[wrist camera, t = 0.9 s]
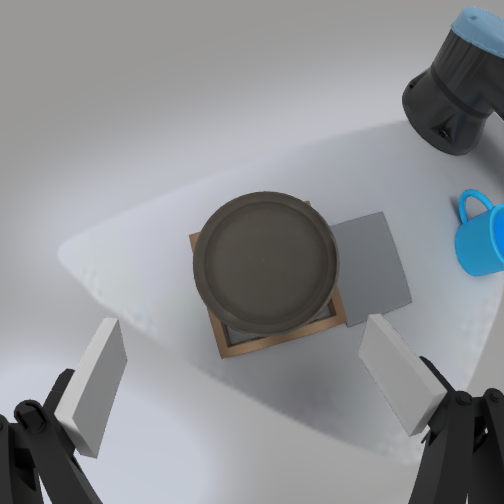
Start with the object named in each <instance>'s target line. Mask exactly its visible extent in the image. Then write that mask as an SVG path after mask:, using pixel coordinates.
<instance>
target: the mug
mask: <svg viewBox="0 0 504 504" xmlns="http://www.w3.org/2000/svg"><path fill="white" fill-rule="evenodd" d="M470 196H472V197H475V198H477V199H478V200H480V201H481V202H482V203H483V204H484V205H485V206H486V207H487V209H488V211H486V212H484V213H482V214H480V215H478V216H476V217H475V218H473V219H471V220H469V221H468V219H467V215H466V211H465V201H466V199H467V197H470ZM459 213H460V217H461V221H462V223H463V224H462V225H461V226H460V227H459V229H458V231H457V234H456V239H455V248H456V254H457V257H458V260H459V263H460V264H461V266H462V268H463V269H464V270H465V271H466V272H467V273H468V274H470V275H473V276H481V275H486V274H490V273H494V272H498V271H503V270H504V204H499V205H497V206H495V207H494V206H493V204H492V203H491V202H490V201H489V199H488V198H487V197H486V196H485V195H483V194H482V193H480V192H479V191H477V190H473V189H469V190H465V191H464V192H463V193H462V194H461V196H460V199H459Z"/></svg>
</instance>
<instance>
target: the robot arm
mask: <svg viewBox="0 0 504 504" xmlns="http://www.w3.org/2000/svg"><path fill="white" fill-rule="evenodd" d="M402 104H403V108H404V111H405V113H406V116H407V118H408V119H409V121H410V123H411V124H412V125H413V127H414V128H415V129H416V130H417V132H418V133H419V134H420V135H421V136H422V137H423V138H424V139H426V140H427V141H428V142H429V143H430V144H432V145H433V146H435V147H436V148H438V149H440V150H442V151H444V152H446V153H449V154H453V155H463V154H466V153H468V152H469V151H470V150H471V149H472V148H473V147H474V146H475V145H476V144H477V143H478V141H479V138H480V136H481V133H482V131H483V128H484V125H485V123H486V120H487V118H488V117H489V116H490V115H491V114H492V112H494V111H495V112H496V113H497V114H498V115H499V116H500V117H501V118H502V119H503V120H504V20H503V19H501V18H500V17H499V16H497V15H495V14H493V13H491V12H489V11H487V10H484V9H482V8H478V7H473V6H470V7H465V8H464V9H462V11H461V12H460V14H459V15H458V17H457V19H456V20H455V22H453V23H452V24H451V30H450V32H449V34H448V36H447V38H446V40H445V42H444V43H443V45H442V47H441V49H440V50H439V52H438V54H437V56H436V57H435V59H434V62H433V63H432V65H431V66H430V67H429V68H428V69H427V70H425V71H424V72H422V73H421V74H420V75H418V76H417V77H415V78H414V79H413V80H411V81H410V82H409V84H408V85H407V87H406V89H405V91H404V93H403V96H402ZM358 355H359V357H360V358H361V360H362V362H363V363H364V365H365V366H366V368H367V369H368V371H369V373H370V374H371V376H372V377H373V379H374V380H375V382H376V384H377V385H378V387H379V388H380V390H381V392H382V393H383V395H384V396H385V398H386V400H387V401H388V403H389V405H390V406H391V408H392V409H393V411H394V413H395V414H396V416H397V418H398V419H399V421H400V423H401V424H402V426H403V428H404V429H405V431H406V433H407V434H408V436H409V437H411V436H413V435H416V434H419V433H421V432H422V431H423V430H424V428H425V427H426V425H427V424H428V426H429V427H430V430H429V431H428V433H427V434H426V435H425V437H424V438H423V440H422V441H421V443H422V444H423V442H424V441H425V440H426V443H425V448H424V452H423V456H422V460H421V464H420V467H419V471H418V475H417V478H416V482H415V485H414V488H413V491H412V494H411V497H410V500H409V503H408V504H466V499H467V493H468V504H504V395H503V393H502V392H501V391H499V390H497V389H495V388H489V389H487V390H486V392H485V393H484V395H483V396H482V397H472V396H471V395H470V394H468V393H467V392H464V391H455V390H454V388H453V387H452V386H451V385H450V384H449V383H448V381H447V380H446V379H445V378H444V377H443V375H442V374H440V372H439V371H438V370H437V369H436V367H435V366H434V365H433V364H432V363H431V362H430V361H429V360H427V359H426V358H424V357H423V356H420V357H418V356H417V354H416V353H415V352H414V351H413V350H412V349H411V348H410V346H409V345H408V344H407V343H406V342H405V341H404V340H403V338H402V337H401V336H400V335H399V334H398V333H397V332H396V331H395V329H394V328H393V327H392V326H391V325H390V324H389V323H388V322H387V321H386V319H385V318H384V317H383V316H382V315H381V314H372V315H369V316H368V320H367V323H366V327H365V331H364V334H363V338H362V342H361V345H360V348H359V352H358ZM126 363H127V356H126V352H125V348H124V344H123V339H122V335H121V330H120V325H119V320H118V319H117V318H104V320H103V321H102V323H101V325H100V327H99V328H98V330H97V332H96V333H95V335H94V337H93V339H92V341H91V342H90V344H89V346H88V348H87V350H86V351H85V353H84V355H83V357H82V359H81V361H80V363H79V364H78V366H77V368H76V370H73V369H66V370H65V371H64V372H62V373H61V374H60V375H59V377H58V379H57V380H56V382H55V385H54V386H53V388H52V391H50V393H49V395H48V397H47V399H46V401H45V403H44V405H43V407H42V406H41V405H40V403H38V402H37V401H35V400H24V401H23V402H21V403H19V404H18V405H17V406H16V408H15V410H14V418H15V419H16V420H17V422H18V423H9V422H8V421H7V419H6V418H5V417H4V416H3V415H1V414H0V504H44V502H43V497H42V492H41V487H40V481H39V476H40V478H41V480H42V483H43V485H44V487H45V489H46V491H47V494H48V496H49V498H50V500H51V502H52V504H103V503H102V502H101V500H100V499H99V497H98V496H97V494H96V493H95V491H94V489H93V488H92V486H91V485H90V483H89V481H88V479H87V478H86V476H85V474H84V473H83V471H82V469H81V468H80V465H79V464H78V462H77V460H76V458H75V457H74V455H73V454H74V450H75V448H76V449H77V451H78V452H79V453H80V455H83V456H88V457H92V458H97V456H98V452H99V449H100V445H101V441H102V438H103V434H104V431H105V428H106V424H107V421H108V418H109V414H110V411H111V408H112V405H113V402H114V399H115V396H116V392H117V389H118V386H119V383H120V380H121V377H122V375H123V372H124V369H125V366H126ZM486 428H487V430H488V433H487V434H486V433H485V429H486ZM38 473H39V474H38Z"/></svg>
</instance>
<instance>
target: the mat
mask: <svg viewBox="0 0 504 504" xmlns="http://www.w3.org/2000/svg"><path fill="white" fill-rule="evenodd" d="M330 229H331V231H332V233H333V235H334V237H335V240H336V243H337V246H338V251H339V260H340V267H339V277H338V281H337V286H338V289H339V292H340V296H341V299H342V302H343V306H344V309H345V313H346V316H347V320H348V322H346V324H347V327H351V326H353V325H356V324H359V323H362V322H364V321H367V320H368V316H369V315H372V314H381V315H382V314H385V313H387V312H390V311H392V310H395V309H397V308H399V307H402V306H404V305H407V304H409V303H411V302H412V299H411V295H410V292H409V288H408V285H407V281H406V278H405V275H404V271H403V268H402V265H401V262H400V259H399V256H398V253H397V250H396V247H395V244H394V241H393V238H392V236H391V233H390V230H389V227H388V225H387V222H386V219H385V217H384V214H383V212H379V213H375V214H372V215H368V216H365V217H361V218H358V219H354V220H351V221H347V222H344V223H340V224H337V225H334V226H330Z"/></svg>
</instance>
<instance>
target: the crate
mask: <svg viewBox="0 0 504 504" xmlns="http://www.w3.org/2000/svg"><path fill="white" fill-rule="evenodd" d="M305 203H306V204H308V205H309V206H311V205H310V202H309V201H305ZM200 233H201V232H198V233H194V234H191V235H189V238H190V242H191V247H192V251H193V255H194V249H195V245H196V242H197V239H198V237H199V234H200ZM328 306H329V310H330V313H331V315H330V316H327V317H324V318H321V319H318V320H315V321H312V322H310V323H308V324H307V325H305V326H304V327H302V328H300V329H298V330H296V331H294V332H291V333H288V334H284V335H280V336H272V337H258V338H254V339H251V340H247V341H243V342H239V343H236V344H232V345H231V341H230V338H229V335H228V331H227V328H226V325H225V324H224V323H222V322H221V321H220V320H219V319H218V318H216V317H215V316H214V315H213V313H212V312H211V311H210V310H209V309H208V308H207V310H208V313H209V317H210V321H211V324H212V328H213V331H214V335H215V338H216V342H217V345H218V349H219V352H220V356H221V359H223V358H227V357H231V356H235V355H239V354H243V353H247V352H251V351H255V350H258V349H262V348H266V347H269V346H273V345H276V344H280V343H283V342H286V341H290V340H293V339H296V338H300V337H303V336H306V335H309V334H312V333H315V332H318V331H321V330H324V329H327V328H330V327H333V326H336V325H339V324H342V323H345V322H348V320H347V316H346V313H345V309H344V306H343V302H342V299H341V296H340V292H339V289H338V286H337V285H336V288H335V290H334V293H333V295H332V297H331V299H330V301H329V302H328Z"/></svg>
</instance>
